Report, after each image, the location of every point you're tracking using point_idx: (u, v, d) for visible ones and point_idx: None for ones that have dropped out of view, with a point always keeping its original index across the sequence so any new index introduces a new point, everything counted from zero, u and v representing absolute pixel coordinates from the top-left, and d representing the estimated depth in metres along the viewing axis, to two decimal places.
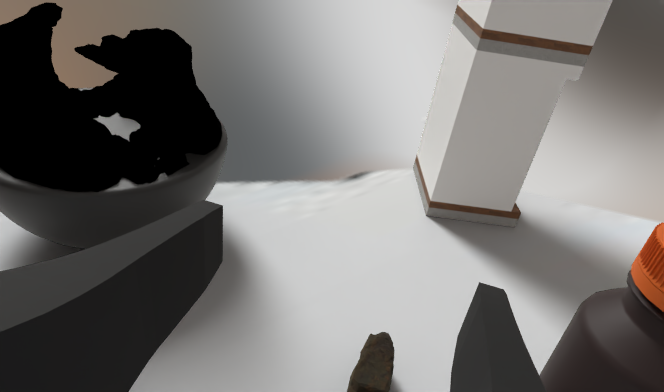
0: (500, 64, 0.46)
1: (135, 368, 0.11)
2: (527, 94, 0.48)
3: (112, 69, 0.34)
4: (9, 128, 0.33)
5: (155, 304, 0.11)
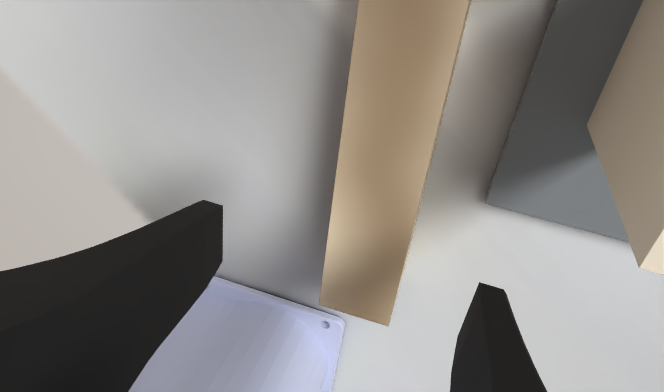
0: None
1: (135, 369, 0.11)
2: None
3: None
4: None
5: (155, 304, 0.11)
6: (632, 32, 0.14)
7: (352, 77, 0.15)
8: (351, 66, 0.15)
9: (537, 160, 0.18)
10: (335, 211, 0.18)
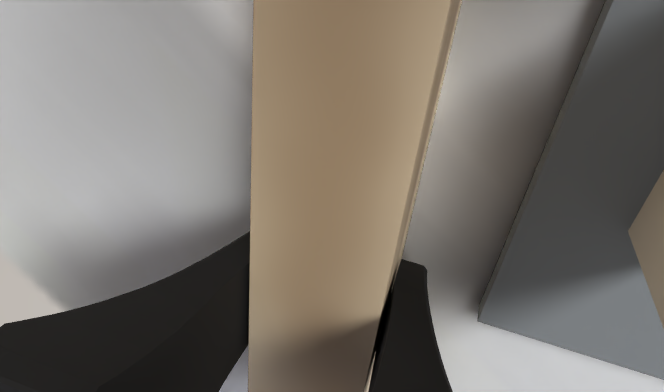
0: None
1: None
2: None
3: None
4: None
5: (230, 330, 0.11)
6: None
7: (256, 173, 0.09)
8: (253, 157, 0.09)
9: (552, 273, 0.12)
10: (254, 349, 0.12)
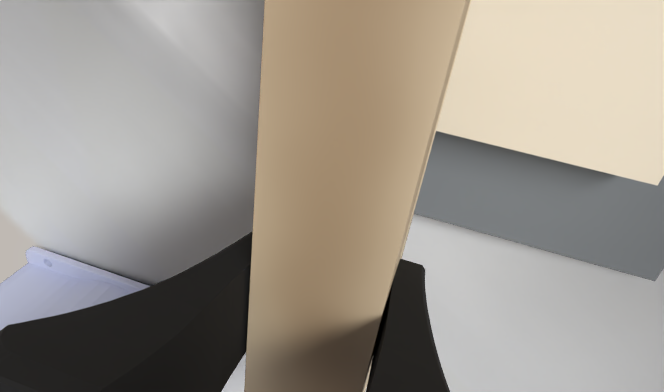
0: None
1: None
2: None
3: None
4: None
5: (232, 331, 0.11)
6: None
7: (261, 171, 0.09)
8: (258, 154, 0.09)
9: None
10: (252, 348, 0.12)
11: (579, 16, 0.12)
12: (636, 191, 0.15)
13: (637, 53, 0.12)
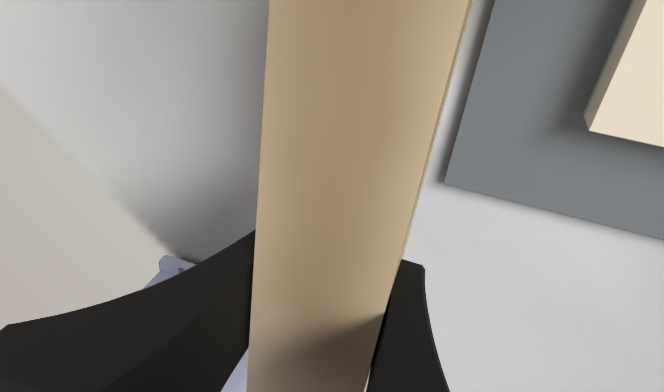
0: None
1: None
2: None
3: None
4: None
5: (232, 331, 0.11)
6: (648, 30, 0.14)
7: (265, 164, 0.09)
8: (262, 147, 0.09)
9: (490, 139, 0.18)
10: (255, 342, 0.12)
11: None
12: None
13: None
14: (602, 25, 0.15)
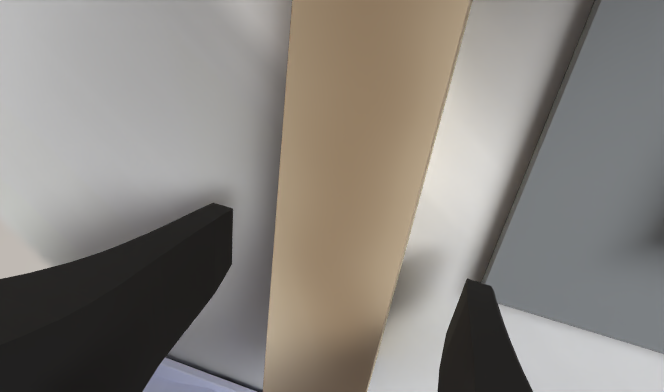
0: None
1: (146, 372, 0.11)
2: None
3: None
4: None
5: (166, 308, 0.11)
6: None
7: (286, 145, 0.10)
8: (284, 129, 0.10)
9: (549, 249, 0.13)
10: (274, 314, 0.13)
11: None
12: None
13: None
14: None
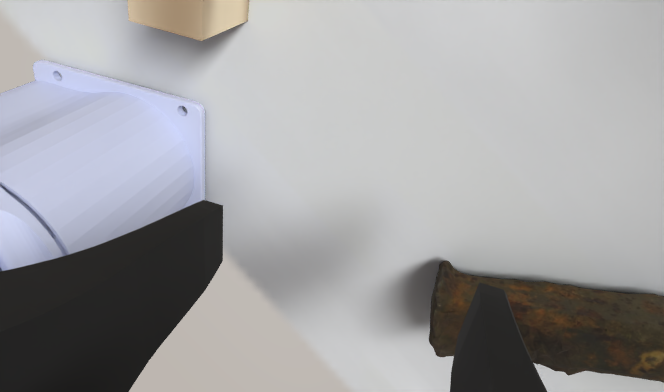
0: None
1: (135, 369, 0.11)
2: None
3: None
4: None
5: (155, 304, 0.11)
6: None
7: None
8: None
9: None
10: None
11: None
12: None
13: None
14: None
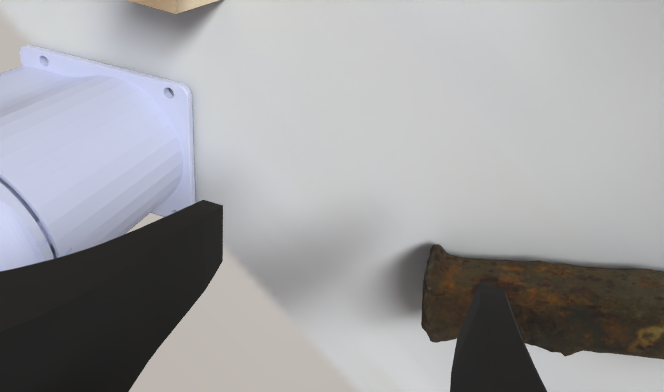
0: None
1: (135, 368, 0.11)
2: None
3: None
4: None
5: (155, 304, 0.11)
6: None
7: None
8: None
9: None
10: None
11: None
12: None
13: None
14: None
